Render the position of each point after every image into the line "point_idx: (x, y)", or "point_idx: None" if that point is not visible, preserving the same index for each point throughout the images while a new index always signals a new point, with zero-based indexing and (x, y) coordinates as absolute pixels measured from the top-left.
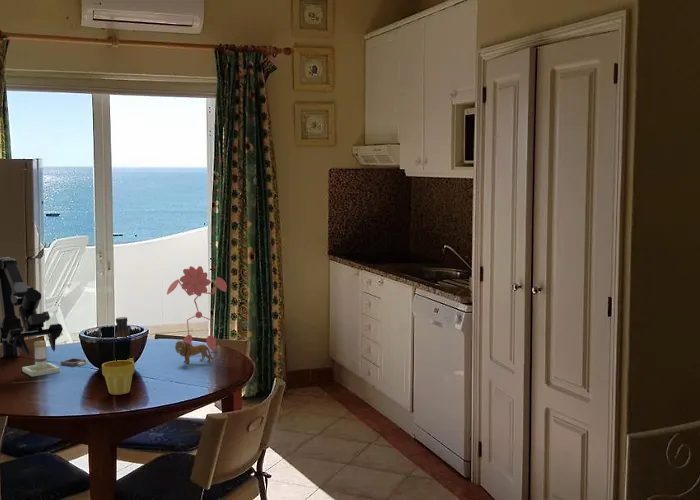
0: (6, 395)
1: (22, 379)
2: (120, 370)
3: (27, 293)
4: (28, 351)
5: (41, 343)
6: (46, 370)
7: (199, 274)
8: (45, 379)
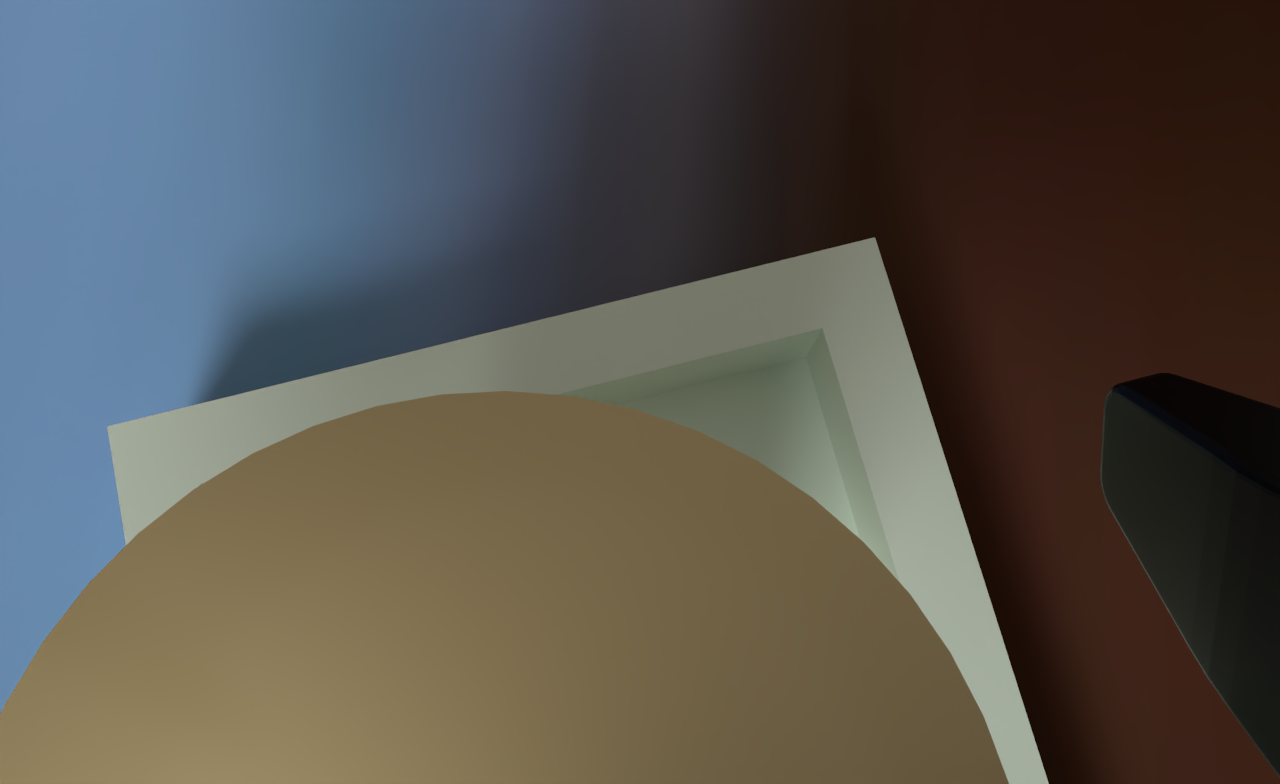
0: None
1: (1055, 272)
2: None
3: None
4: (1189, 414)
5: (407, 411)
6: (482, 334)
7: None
8: (566, 44)
